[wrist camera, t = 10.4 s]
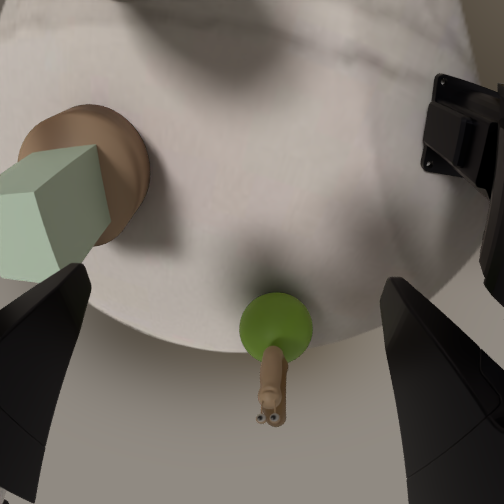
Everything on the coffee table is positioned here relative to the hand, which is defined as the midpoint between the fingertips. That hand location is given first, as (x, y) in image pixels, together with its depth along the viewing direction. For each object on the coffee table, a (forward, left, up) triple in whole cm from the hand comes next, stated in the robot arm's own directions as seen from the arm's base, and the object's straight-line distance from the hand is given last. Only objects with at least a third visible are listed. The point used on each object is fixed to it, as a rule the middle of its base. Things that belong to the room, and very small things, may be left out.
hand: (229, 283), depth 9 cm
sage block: (+11, +1, -9) cm, 14 cm away
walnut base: (+11, +1, -12) cm, 16 cm away
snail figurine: (-2, +12, -12) cm, 17 cm away
